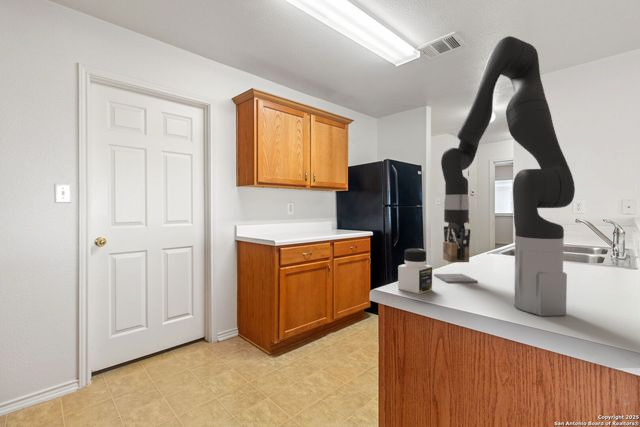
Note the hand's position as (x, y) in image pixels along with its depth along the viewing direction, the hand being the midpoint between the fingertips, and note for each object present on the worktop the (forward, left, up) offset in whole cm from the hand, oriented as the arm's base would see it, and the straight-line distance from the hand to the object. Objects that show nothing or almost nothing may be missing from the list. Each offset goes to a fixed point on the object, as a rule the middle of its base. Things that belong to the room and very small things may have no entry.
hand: (455, 258), depth 101 cm
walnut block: (0, 0, -1) cm, 1 cm away
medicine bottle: (-12, +18, -7) cm, 23 cm away
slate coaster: (0, 0, -7) cm, 7 cm away
